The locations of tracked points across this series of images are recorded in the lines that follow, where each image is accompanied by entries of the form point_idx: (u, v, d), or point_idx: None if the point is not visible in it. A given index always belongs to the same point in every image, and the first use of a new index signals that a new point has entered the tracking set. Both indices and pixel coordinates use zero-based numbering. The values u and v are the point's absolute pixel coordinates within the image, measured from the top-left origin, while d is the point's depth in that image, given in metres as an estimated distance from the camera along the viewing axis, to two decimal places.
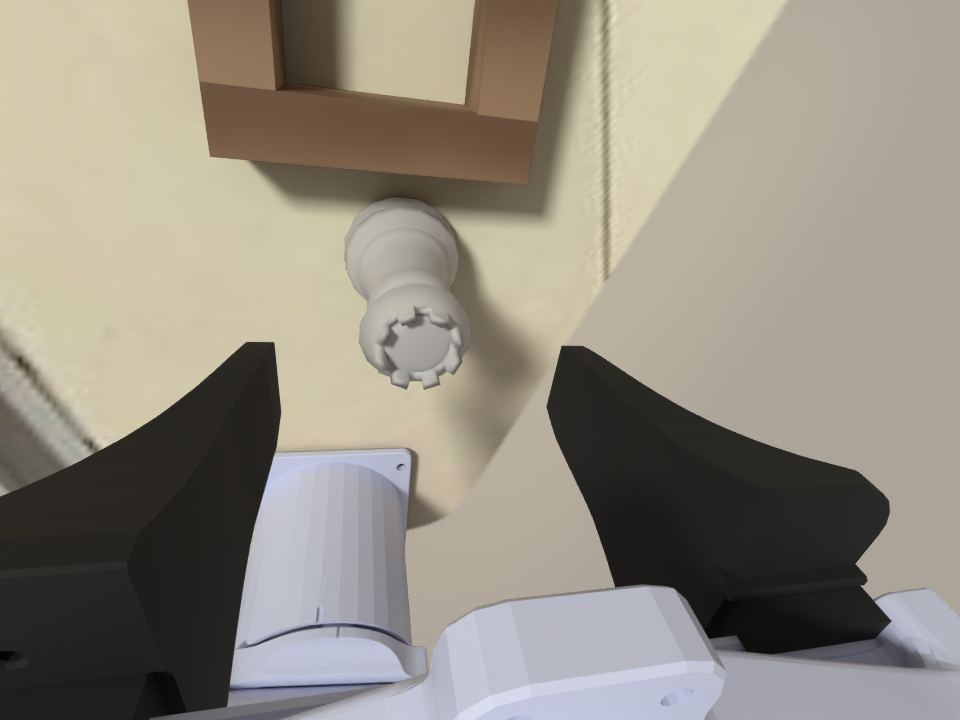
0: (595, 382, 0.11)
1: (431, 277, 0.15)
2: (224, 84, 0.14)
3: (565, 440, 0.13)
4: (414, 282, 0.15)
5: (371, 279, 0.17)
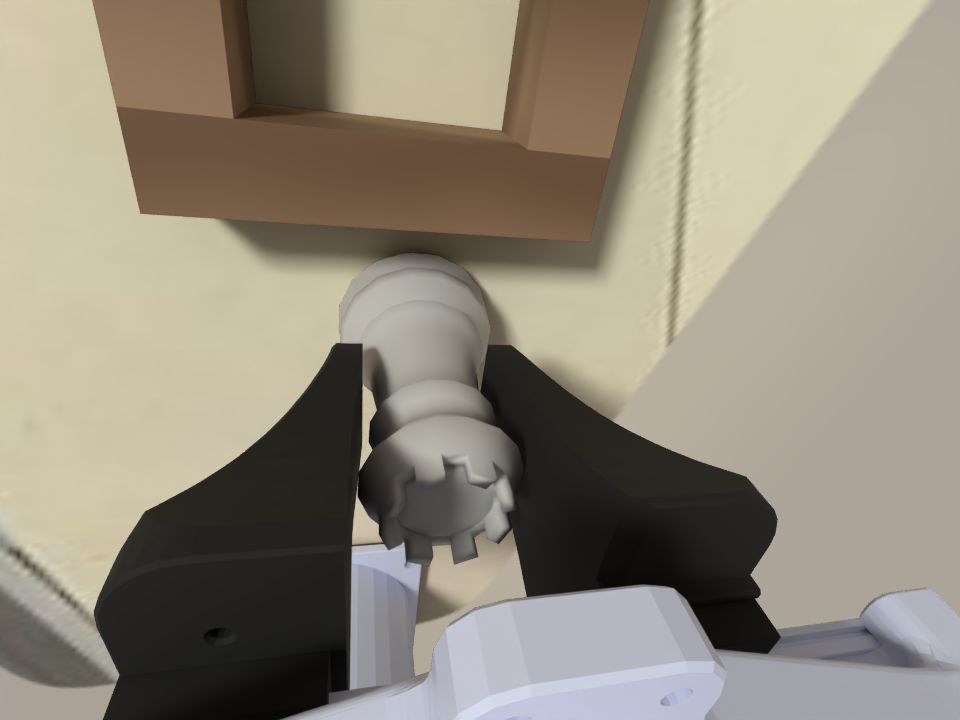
0: (512, 382, 0.11)
1: (462, 389, 0.11)
2: (155, 110, 0.10)
3: None
4: (439, 399, 0.10)
5: (375, 378, 0.12)
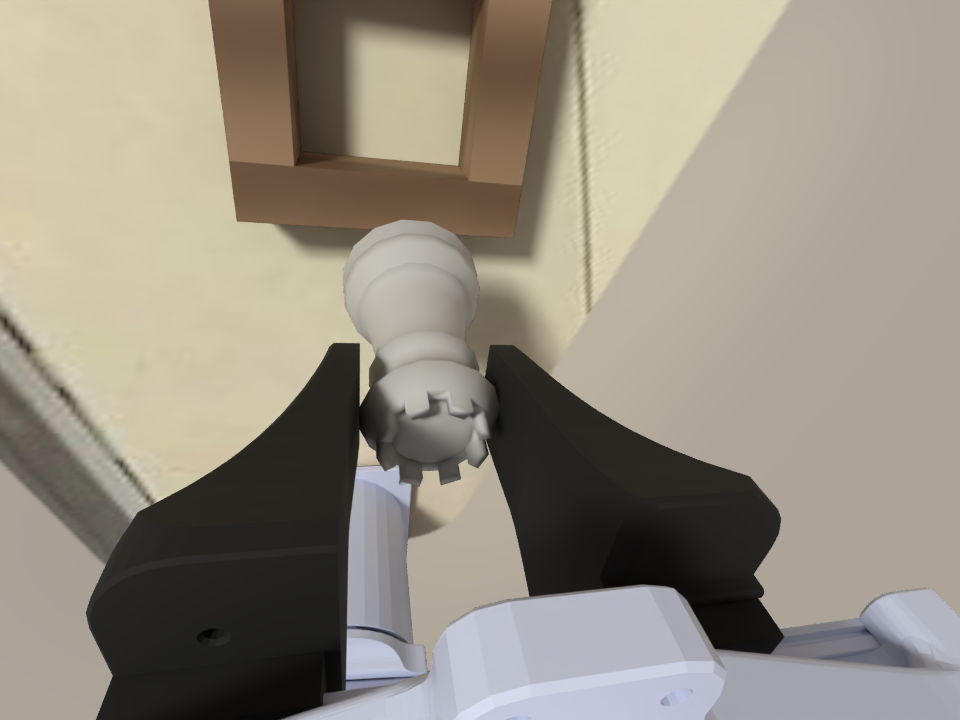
0: (514, 382, 0.11)
1: (448, 339, 0.12)
2: (250, 162, 0.17)
3: (493, 442, 0.12)
4: (427, 348, 0.12)
5: (374, 331, 0.14)
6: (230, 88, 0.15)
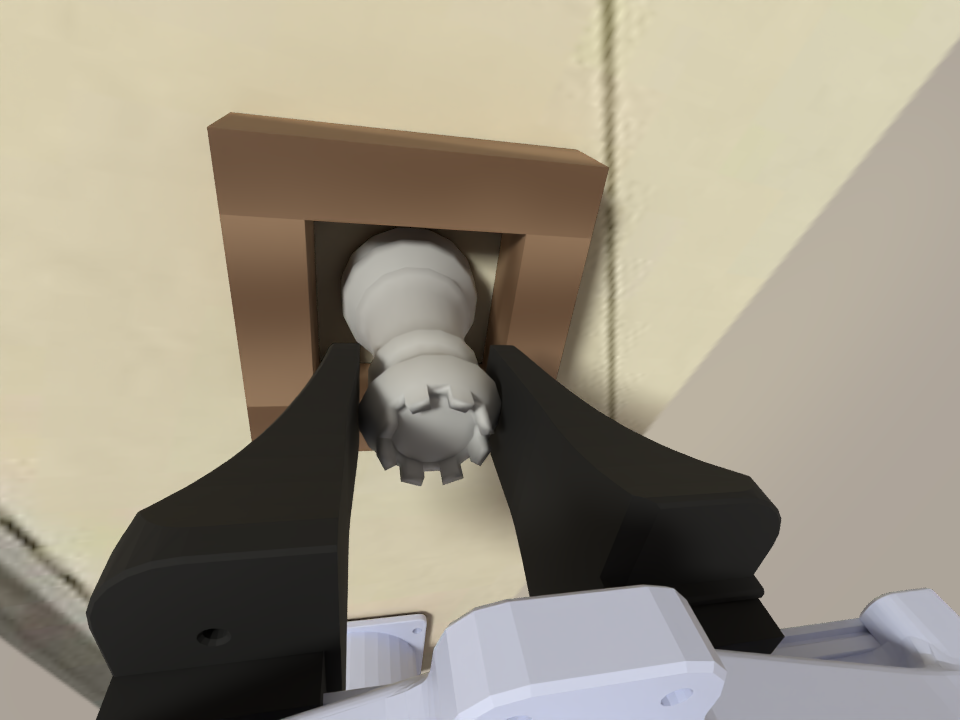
0: (514, 382, 0.11)
1: (447, 337, 0.12)
2: (269, 405, 0.16)
3: (493, 442, 0.12)
4: (426, 345, 0.12)
5: (373, 335, 0.14)
6: (249, 348, 0.15)
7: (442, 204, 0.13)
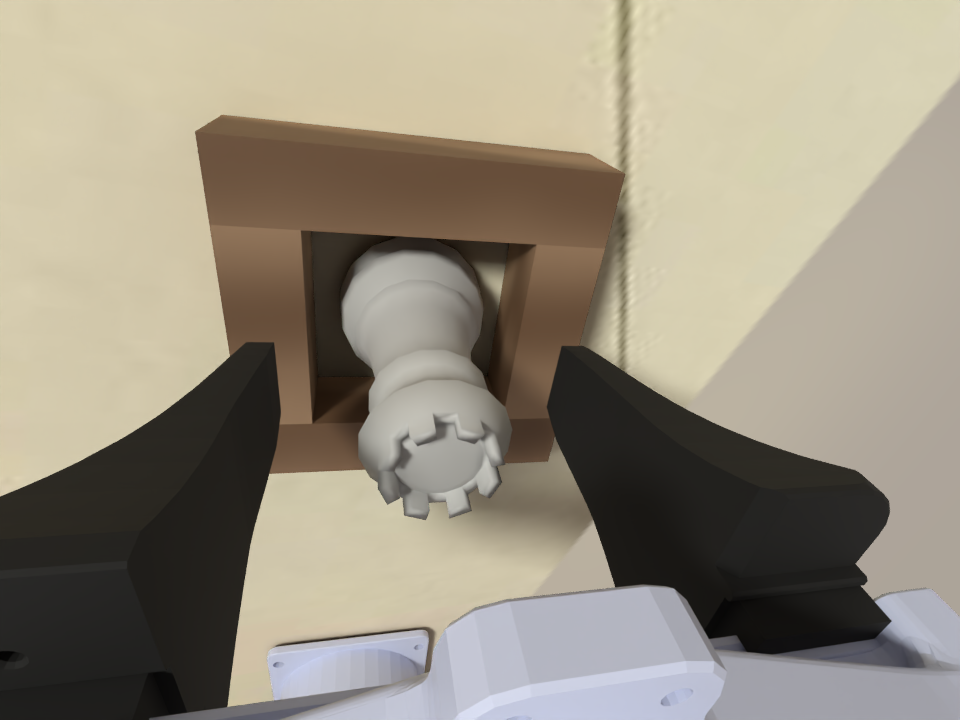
0: (596, 381, 0.11)
1: (453, 358, 0.11)
2: None
3: (565, 440, 0.13)
4: (431, 367, 0.11)
5: (374, 353, 0.13)
6: None
7: (448, 213, 0.13)
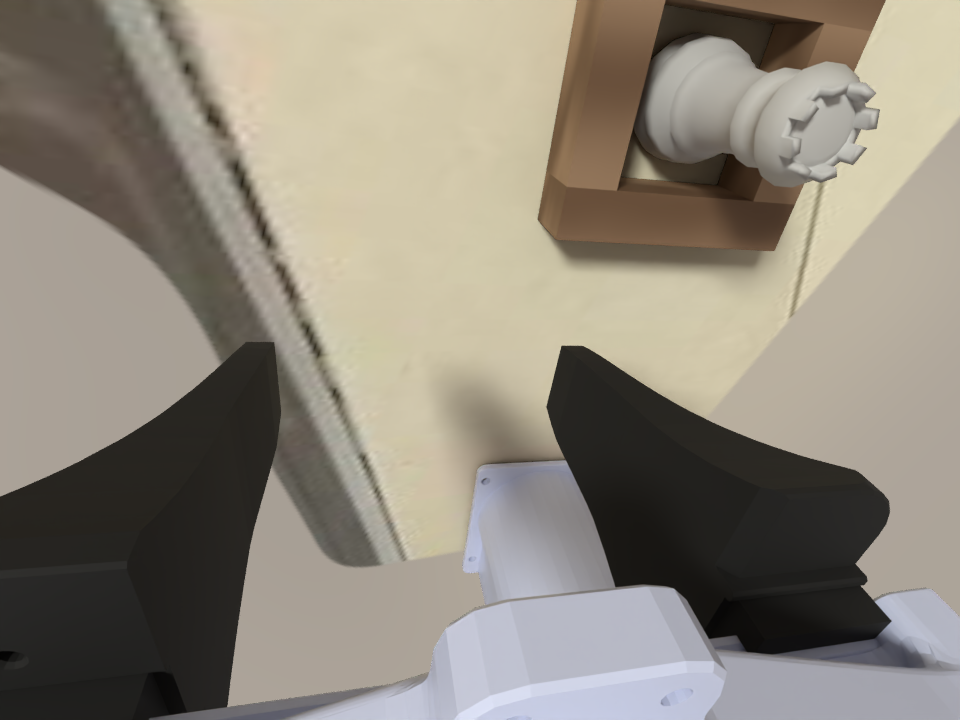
0: (595, 381, 0.11)
1: None
2: (582, 188, 0.19)
3: (565, 440, 0.13)
4: None
5: (711, 99, 0.16)
6: (587, 124, 0.17)
7: None
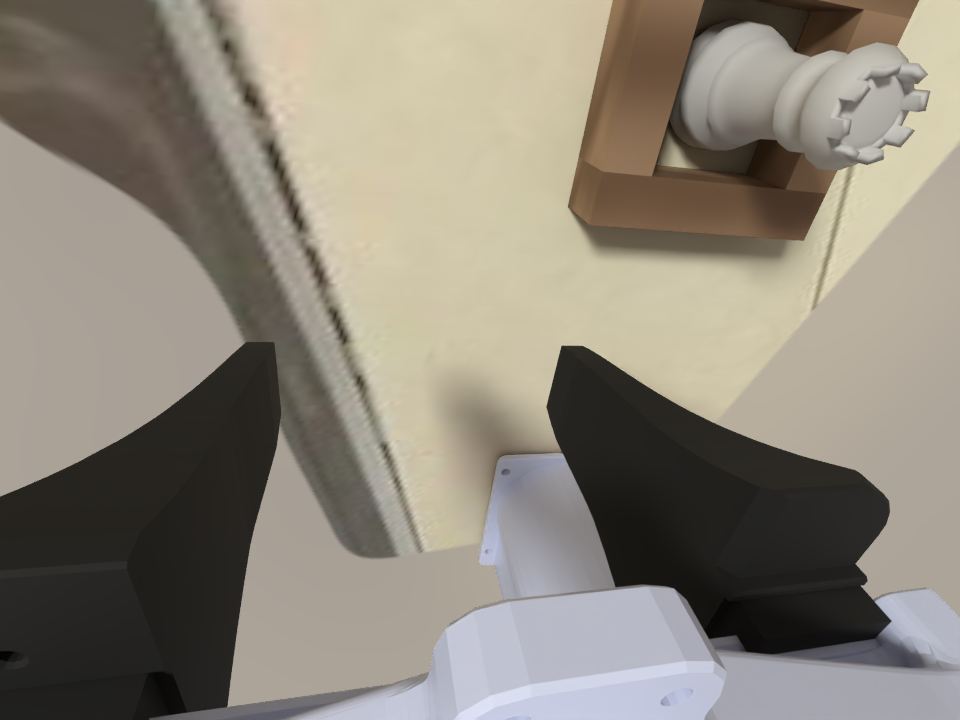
0: (595, 382, 0.11)
1: None
2: (618, 173, 0.19)
3: (565, 440, 0.13)
4: None
5: (752, 83, 0.16)
6: (626, 108, 0.17)
7: None
